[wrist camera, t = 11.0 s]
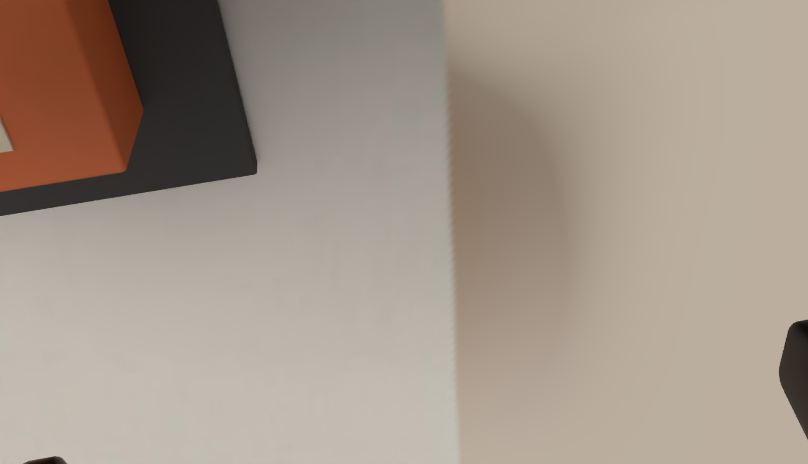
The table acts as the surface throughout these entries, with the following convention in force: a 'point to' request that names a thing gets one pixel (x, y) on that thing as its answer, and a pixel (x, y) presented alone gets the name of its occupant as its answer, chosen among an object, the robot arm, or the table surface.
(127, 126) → the orange block
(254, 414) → the table surface
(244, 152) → the word mat
